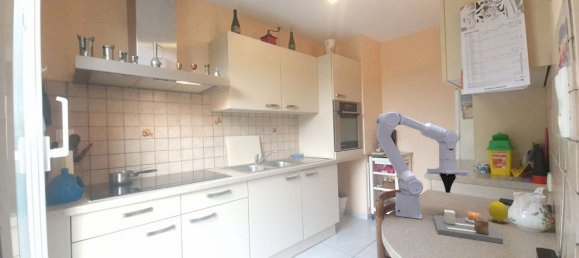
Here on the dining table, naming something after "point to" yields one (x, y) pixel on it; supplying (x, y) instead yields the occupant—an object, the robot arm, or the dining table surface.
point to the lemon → (498, 211)
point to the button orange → (473, 215)
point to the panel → (465, 229)
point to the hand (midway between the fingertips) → (447, 192)
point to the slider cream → (449, 217)
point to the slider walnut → (481, 226)
